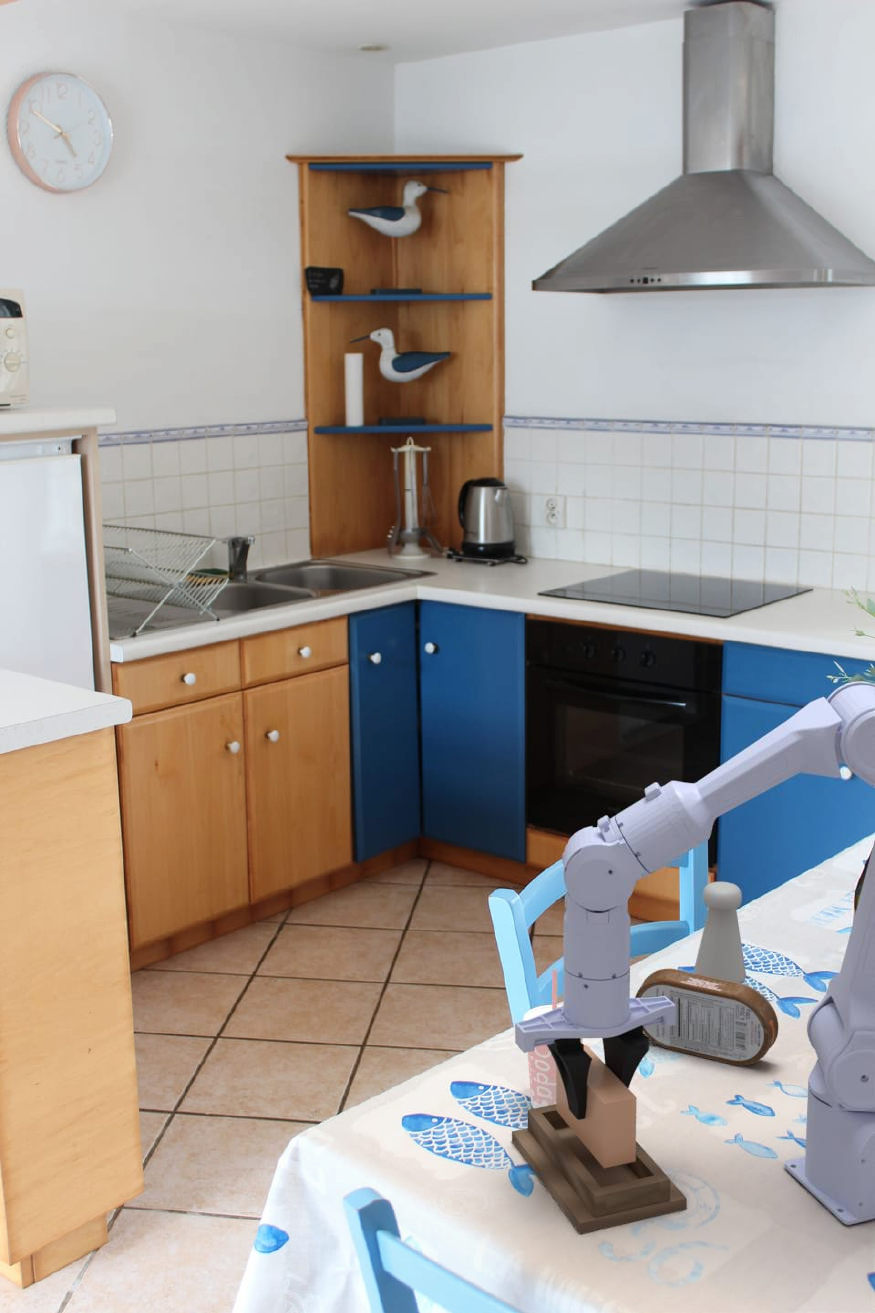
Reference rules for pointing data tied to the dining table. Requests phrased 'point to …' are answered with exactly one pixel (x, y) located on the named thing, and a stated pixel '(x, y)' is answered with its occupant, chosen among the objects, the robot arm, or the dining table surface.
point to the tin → (712, 1017)
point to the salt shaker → (721, 935)
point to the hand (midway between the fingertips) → (595, 1110)
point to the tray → (593, 1176)
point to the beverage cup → (543, 1060)
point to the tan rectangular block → (603, 1115)
